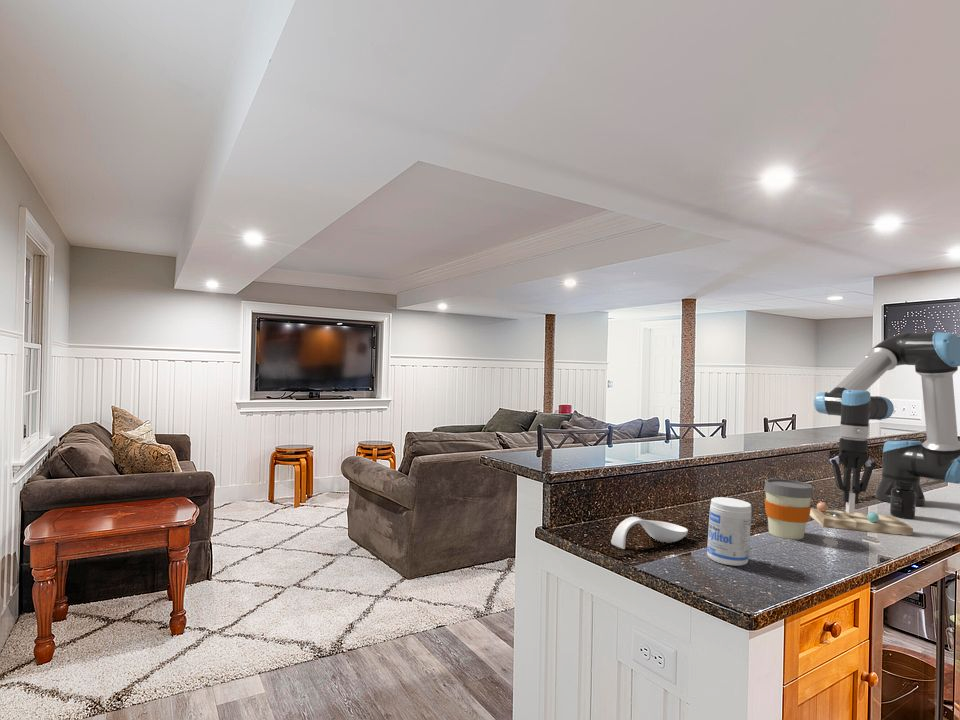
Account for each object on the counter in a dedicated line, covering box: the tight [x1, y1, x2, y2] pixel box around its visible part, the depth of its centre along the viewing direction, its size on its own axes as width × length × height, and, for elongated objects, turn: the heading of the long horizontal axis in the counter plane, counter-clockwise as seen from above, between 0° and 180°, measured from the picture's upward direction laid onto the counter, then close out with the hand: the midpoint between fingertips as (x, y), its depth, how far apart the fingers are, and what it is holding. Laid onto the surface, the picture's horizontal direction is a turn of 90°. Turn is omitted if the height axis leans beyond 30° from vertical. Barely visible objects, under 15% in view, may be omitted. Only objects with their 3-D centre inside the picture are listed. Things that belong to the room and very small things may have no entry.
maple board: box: [809, 507, 914, 536], centre depth 178 cm, size 24×13×2 cm, turn 76°
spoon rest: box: [610, 516, 689, 550], centre depth 153 cm, size 24×12×7 cm, turn 121°
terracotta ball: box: [816, 501, 828, 512], centre depth 184 cm, size 3×3×3 cm
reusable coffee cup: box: [763, 478, 814, 540], centre depth 165 cm, size 13×12×15 cm
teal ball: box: [867, 511, 879, 523], centre depth 173 cm, size 3×3×3 cm
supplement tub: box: [706, 496, 753, 567], centre depth 141 cm, size 10×10×15 cm
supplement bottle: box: [889, 480, 917, 520], centre depth 192 cm, size 7×7×12 cm
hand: (849, 512), depth 179 cm, fingers closed
